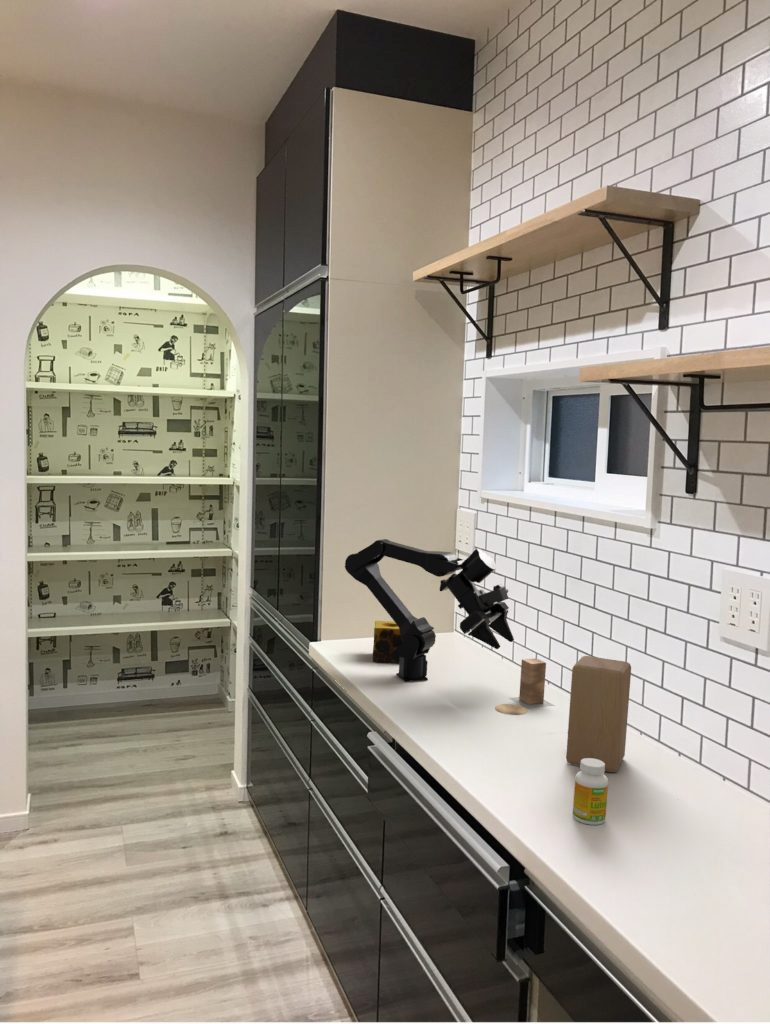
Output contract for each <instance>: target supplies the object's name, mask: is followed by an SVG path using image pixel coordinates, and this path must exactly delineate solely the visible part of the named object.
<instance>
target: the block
mask: <svg viewBox="0 0 770 1024" xmlns="http://www.w3.org/2000/svg"><path fill="white" fill-rule="evenodd" d="M631 673H632V666H631V663H629V662H627V661H625V660H624V661H623V660H617V659H610V658H604V657H597V656H590V655H584V656H581V657H580V659H579V660H578V661H576V663H575V664H574V665H573V667H572V670H571V685H570V698H569V712H568V713H569V714H568V727H567V738H566V739H567V741H566V753H565V754H566V755H565V758H566V761H567V763H568V764H569V765H572V766H573V765H574V766H577V767H580V763H581V760H582V759H584V758H593V759H598V760H601V761H602V762H604V763H605V772H608V773H612V774H613V773H617V772H618V770H619V768H620V766H621V763H622V762H623V759H624V758H625V756H626V744H627V743H626V741H627V728H628V717H629V715H628V713H629V702H630V691H631V690H630V689H631V676H632V674H631Z"/></svg>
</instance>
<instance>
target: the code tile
mask: <svg viewBox="0 0 770 1024" xmlns="http://www.w3.org/2000/svg"><path fill="white" fill-rule="evenodd" d="M508 699H510V700H511V701H513V702H514V703H516V704H517V705H519V706H523V707H525V708H526V709H531V708H534V709H535V708H542V707H555V705H554V704H552V703H551V702H549V701H547V700H546V699H544V702H543V704H533V705H528V704H526V703H524V702H523V701H521V700H519V696H516V697H508Z"/></svg>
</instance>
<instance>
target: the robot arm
mask: <svg viewBox="0 0 770 1024" xmlns="http://www.w3.org/2000/svg"><path fill="white" fill-rule="evenodd" d="M384 558H390V559H392V560H393V559H394V560H398V561H401V562H405V563H408V564H411V565H415V566H418V567H420V568H422V569H423V570H424V571H426V572H427V573H429V574H431V575H433V576H435V577H445V576H449V575H450V576H449V577H448V578H446V579H441V580H440V586H439V592H444V591H447V590H449V592H451V594H452V595H453V596H454V598H455V599H456V601H457V602H458V603H459V604H458V605H457V607H458V608H459V609H460V610H461V609H464V611H465V612H466V613H467V616H466V617H465V618H464V619H463V620H462V621H461V622H460V623H459V629H460V630H461V631H462V633H463V635H466V634H467V636H471V637H473V638H475V639H477V640H478V641H481V642H483V643H485V644H486V645H488V646H490V647H491V648H494V649H495V650H498V649H500V648H501V645H500V643H499V641H498V639H497V637H495V635H494V633H493V631H494V632H495V633H497V634H498V635H500V636H501V637H502V638H504V639H505V640H506V641H508V642H510V643H512V642H513V641H514V640H515V638H514V635H513V634H512V631H511V628H510V625H509V622H508V620H507V618H508V613H509V609H510V607H509V606H508V605H507V603H506V602H505V601H506V600H509V594H508V593H509V589H508V588H506V586H504V585H502V584H501V583H499V584H496V585H493V590H490V591H487V592H485V591H484V590H483V589H478V588H477V587H476V585H475V583H478V584H480V583H482V582H483V581H484V580H485V579H486V578H487V577H489V576H490V575H491V574H492V573H493V572H494V571H495V570H496V569H497V565H496V564H497V563H496V562H495V560H494V559H493V557H491V556H489V555H488V554H487V553H485V552H484V551H482V549H481V548H476V549H475V550H473V551H472V553H471V554H470V555H469V556H468V557H467V558H466V559H463V558H460V557H457V554H455V553H453V552H451V551H440V550H439V551H438V550H437V551H436V550H435V551H433V550H431V551H429V550H424V549H420V548H417V547H414V546H409V545H407V544H403V543H402V544H401V543H398V542H395V541H391V540H389V539H387V538H383V539H377V540H375V541H374V542H372V543H371V544H370V545H369V546H367V547H365V548H363V549H361V550H359V551H358V552H357V553H352V554H348V556H347V557H346V559H345V561H344V562H345V563H344V570H346V572H347V573H348V574H349V575H350V576H351V577H352V578H353V579H354V580H355V581H357V582H358V583H361V584H363V585H364V586H366V587H367V588H368V590H369V591H370V593H371V594H372V595H373V596H374V598H375V599H376V600H377V601H378V603H380V605H381V606H382V607H383V609H384V610H385V612H386V613H387V615H388V616H389V617H390V618H391V619H392V621H394V622H395V623H396V624H397V625H398V627H399V630H400V634H401V638H402V640H403V643H402V644H401V645H399V646H398V647H397V648H396V652H397V656H398V657H400V660H399V664H398V672H397V673H396V674H395V675H396V677H398V678H399V679H400V680H402V681H404V682H406V683H407V682H421V681H422V682H423V681H428V680H429V678H428V677H427V674H428V660H427V655H426V654H429V652H430V649H431V648H433V647H434V645H435V643H436V638H437V635H436V633H435V632H434V631H435V630H434V629H435V628H434V627H433V626H431V624H430V623H429V621H428V620H427V619H426V617H424V616H423V617H420V618H417V617H415V616H414V615H413V614H412V612H411V611H410V609H408V608H407V606H406V605H405V604H404V602H403V601H402V600H401V599H400V597H399V596H398V595H397V593H395V592H394V590H393V589H392V588H391V586H390V585H389V584H388V583H387V582H386V580H385V578H383V576H382V575H381V570H380V565H379V564H378V563H379V562H380V561H382V560H383V559H384ZM456 571H460V572H458V573H455V572H456ZM492 630H493V631H492Z"/></svg>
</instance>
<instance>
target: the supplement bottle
mask: <svg viewBox="0 0 770 1024" xmlns="http://www.w3.org/2000/svg"><path fill="white" fill-rule="evenodd" d="M605 772H606V771H605V763H604V762H602V761H601V760H598V759H593V758H584V759H582V760H581V763H580V766H579V771H578V772H577V773H576V774H575V777H574V788H573V790H574V791H573V804H572V817H573V818H574V819H575V821H577V822H579V823H582V824H584V825H590V826H591V825H592V826H599V825H602V824H603V823H604V822H605V821H606V815H607V803H608V789H609V779H608V777H607V776H606V775H605Z"/></svg>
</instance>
